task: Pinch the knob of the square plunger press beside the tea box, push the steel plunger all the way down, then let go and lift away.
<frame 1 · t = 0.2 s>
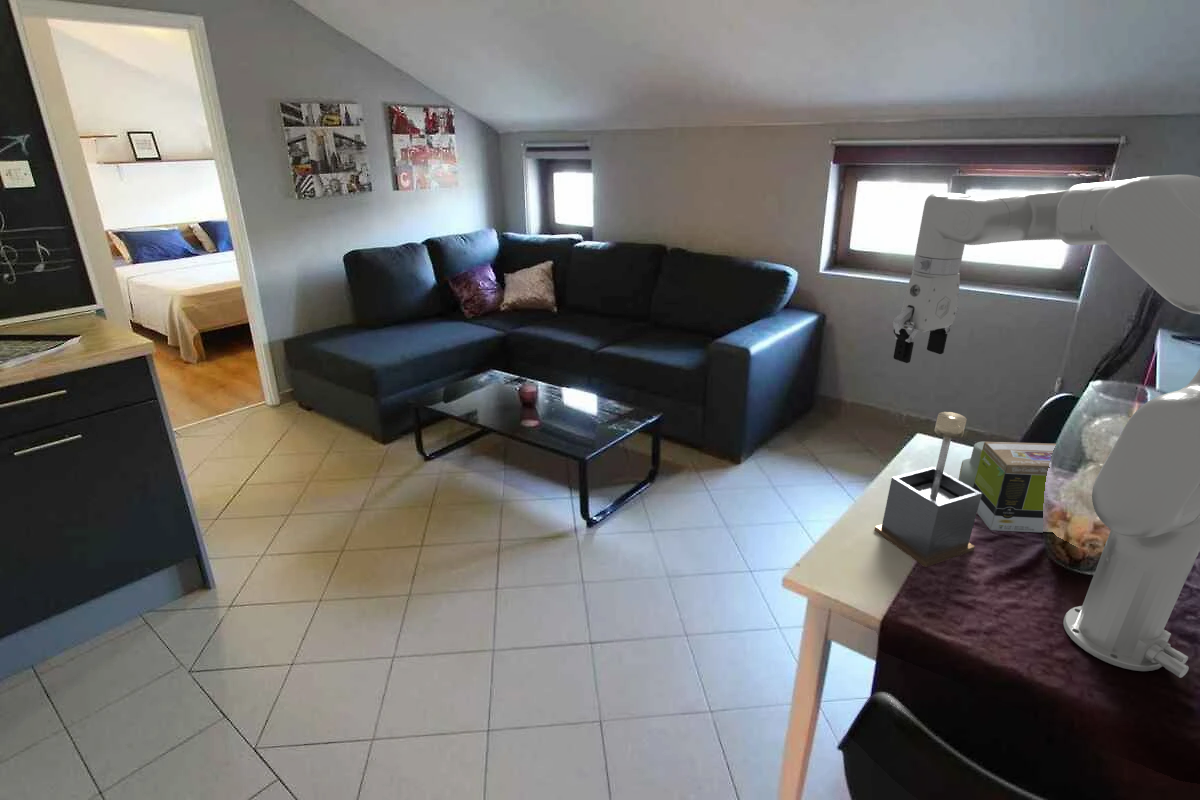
hand: (918, 356, 123), 31 cm above the table, fingers open, 9 cm apart
press housing: (922, 540, 122), on the table
plunger: (941, 460, 115), point 17 cm above the table, slide at 0.0 cm
tea box: (1017, 520, 129), on the table
air freshener: (978, 489, 139), on the table
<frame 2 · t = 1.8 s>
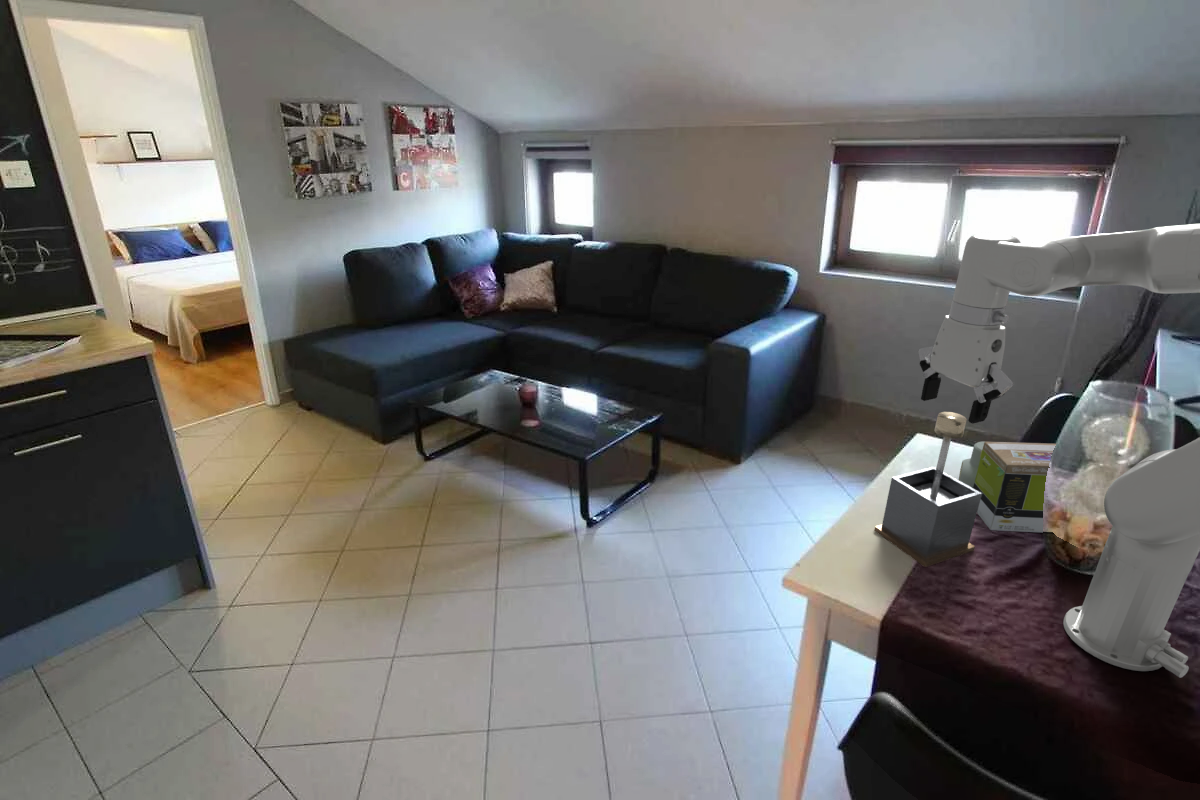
hand: (951, 410, 112), 27 cm above the table, fingers open, 9 cm apart
nothing on the table moved.
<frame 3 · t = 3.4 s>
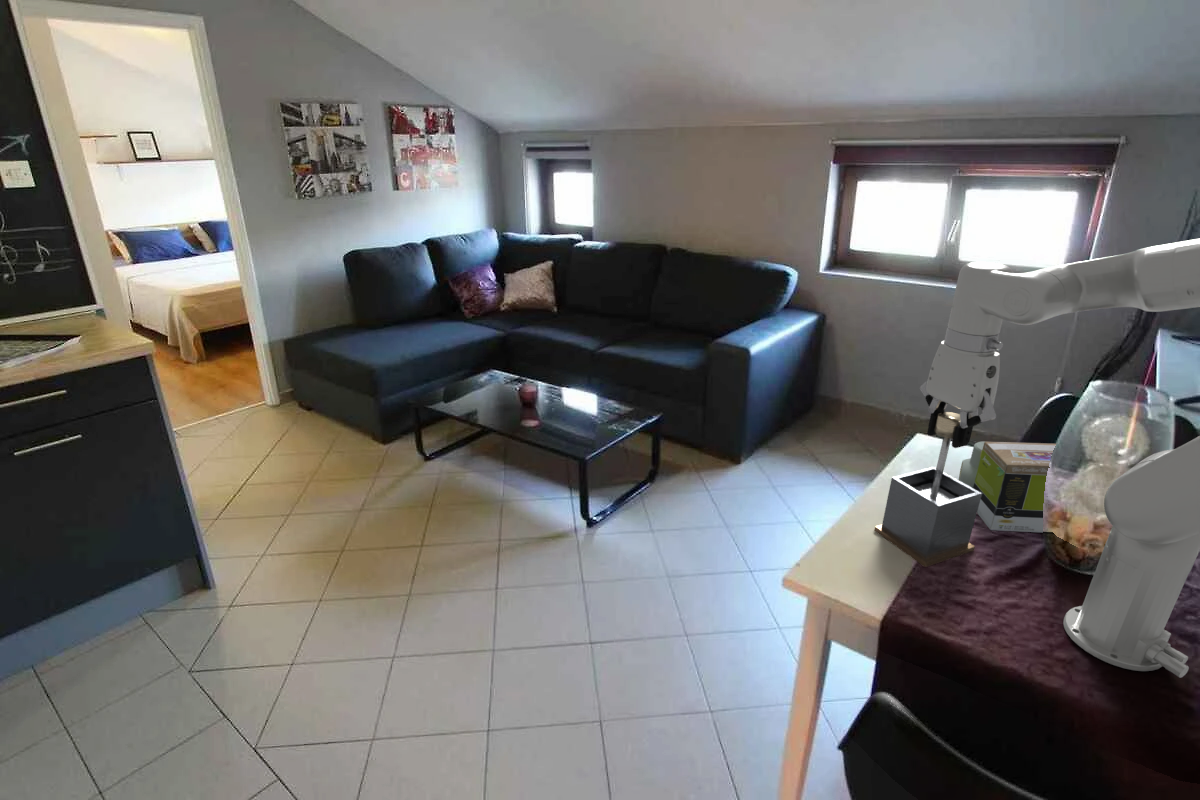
hand: (947, 438, 113), 21 cm above the table, fingers closed on plunger, 4 cm apart
plunger: (941, 460, 115), point 17 cm above the table, slide at 0.0 cm, touching gripper
everything else where it was.
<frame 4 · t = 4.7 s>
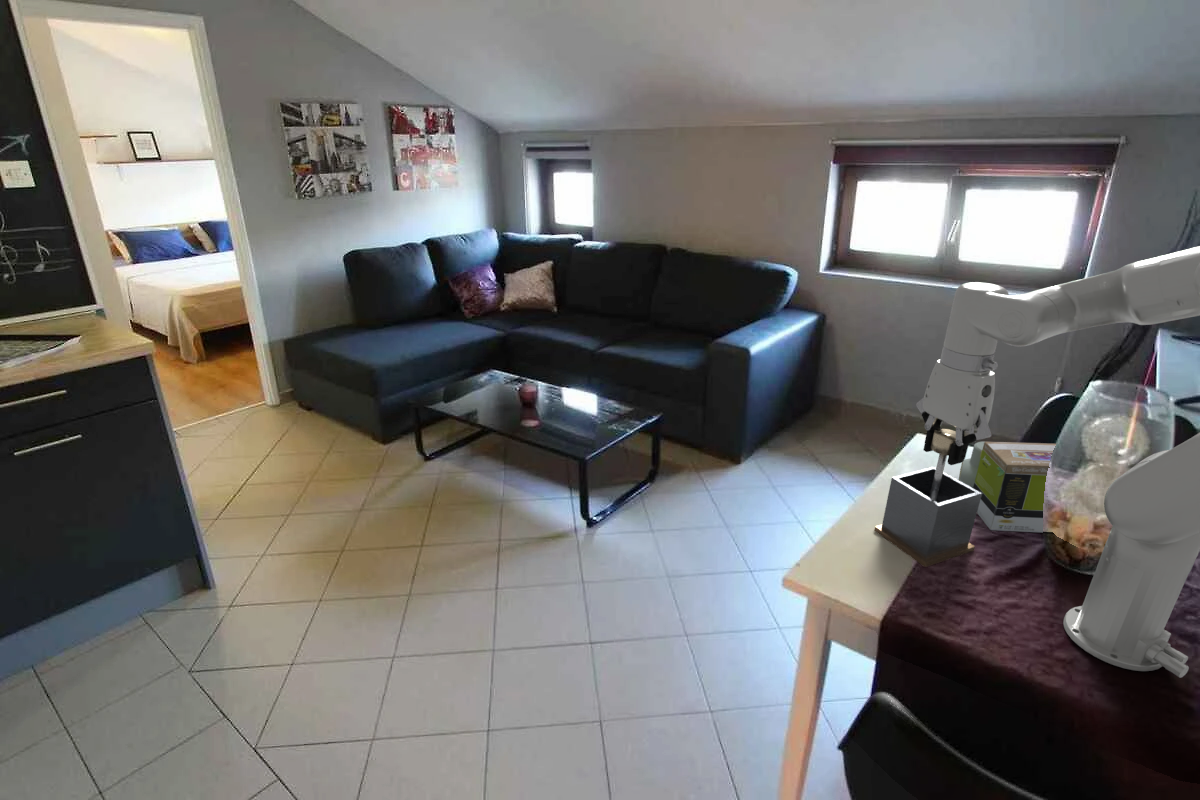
hand: (943, 455, 115), 18 cm above the table, fingers closed on plunger, 4 cm apart
plunger: (938, 476, 116), point 14 cm above the table, slide at 3.3 cm, touching gripper
everything else where it was.
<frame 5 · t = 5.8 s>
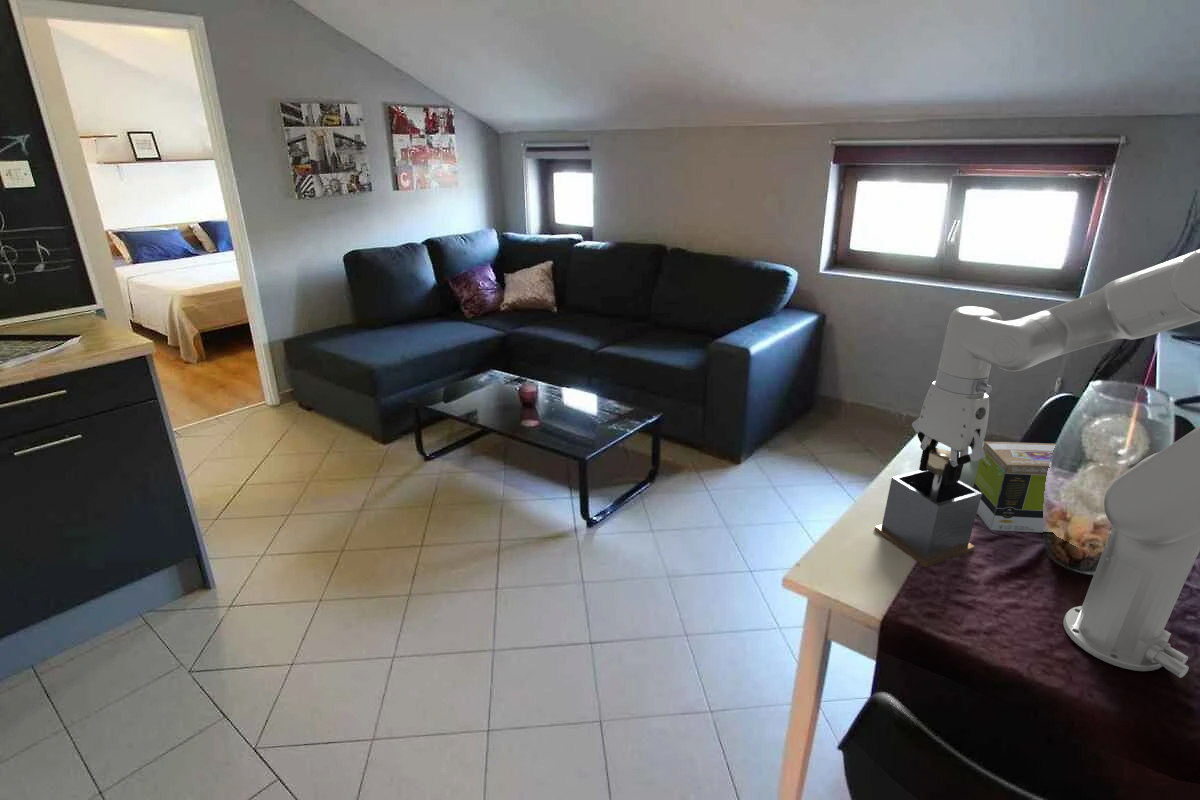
hand: (938, 475, 116), 14 cm above the table, fingers closed on plunger, 4 cm apart
plunger: (933, 495, 118), point 10 cm above the table, slide at 7.3 cm, touching gripper
everything else where it was.
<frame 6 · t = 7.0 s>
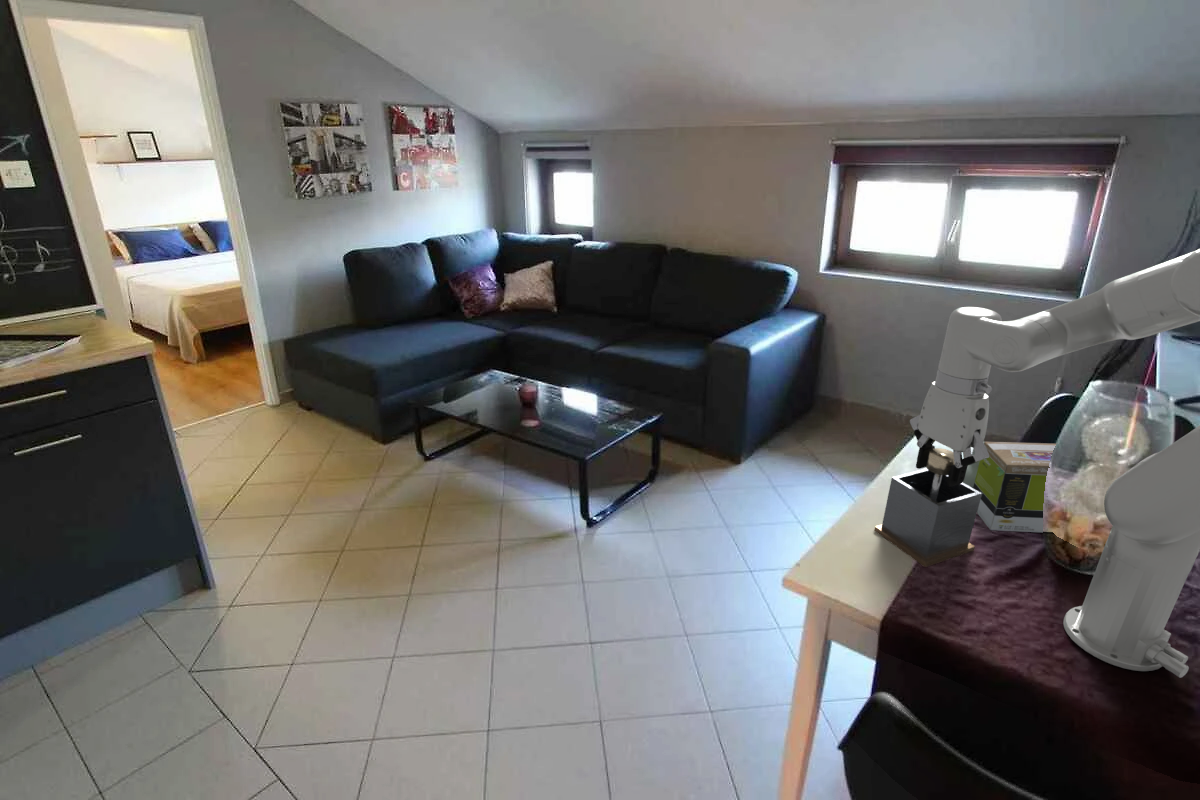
hand: (938, 474, 116), 14 cm above the table, fingers open, 6 cm apart
plunger: (933, 495, 118), point 10 cm above the table, slide at 7.2 cm
everything else where it was.
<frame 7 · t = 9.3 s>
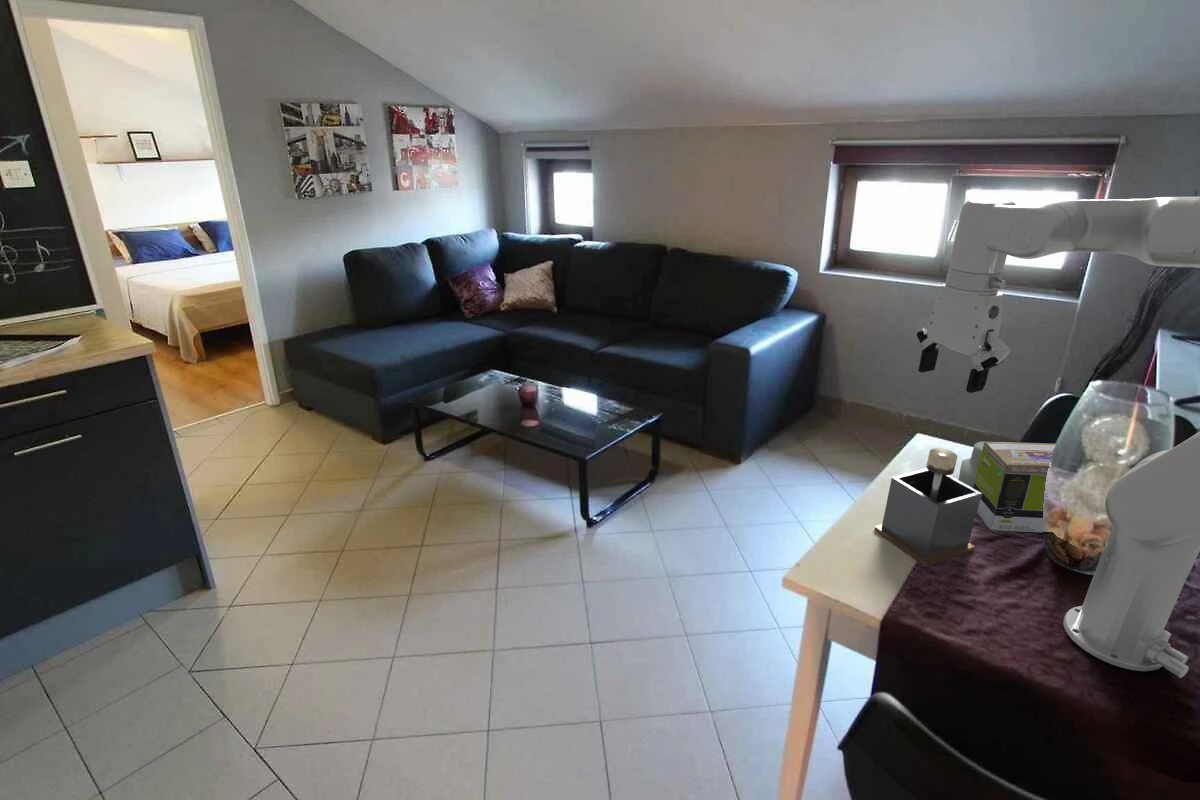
hand: (949, 380, 110), 32 cm above the table, fingers open, 9 cm apart
nothing on the table moved.
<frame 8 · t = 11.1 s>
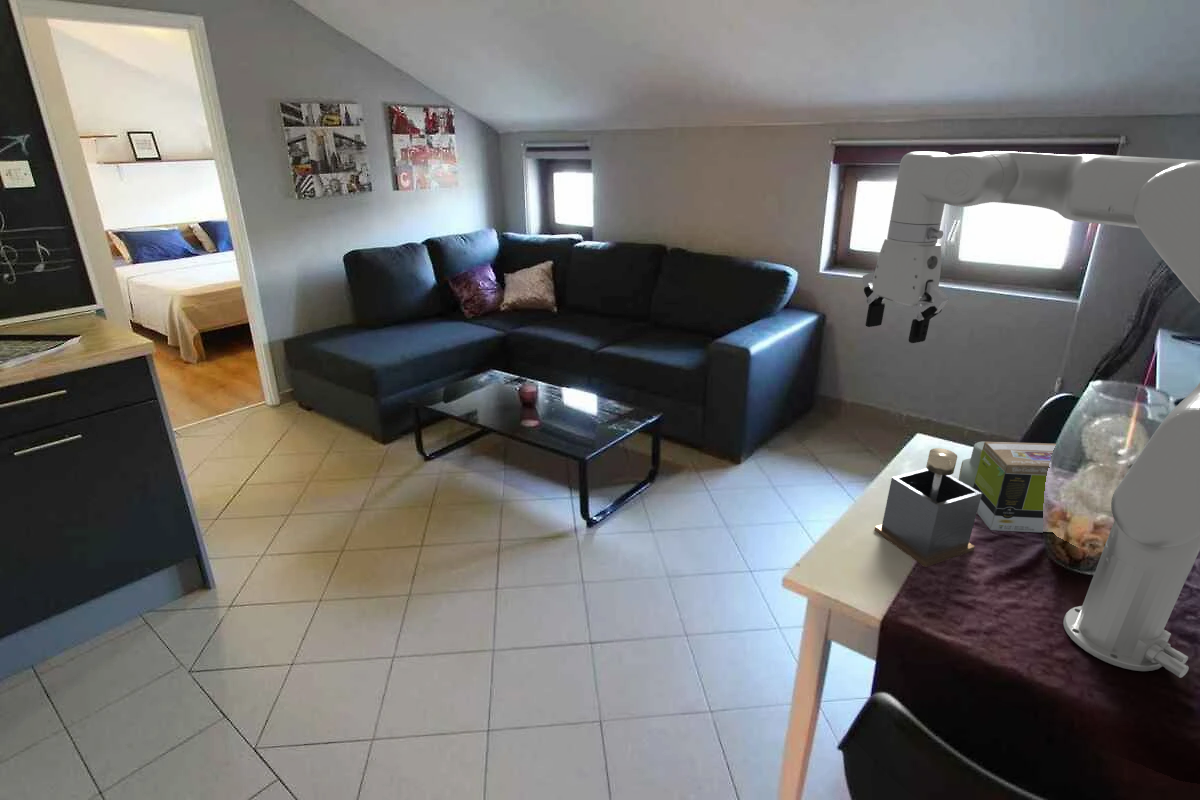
hand: (894, 333, 113), 38 cm above the table, fingers open, 9 cm apart
nothing on the table moved.
at the end: plunger slide at 7.2 cm; the gripper is holding nothing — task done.
